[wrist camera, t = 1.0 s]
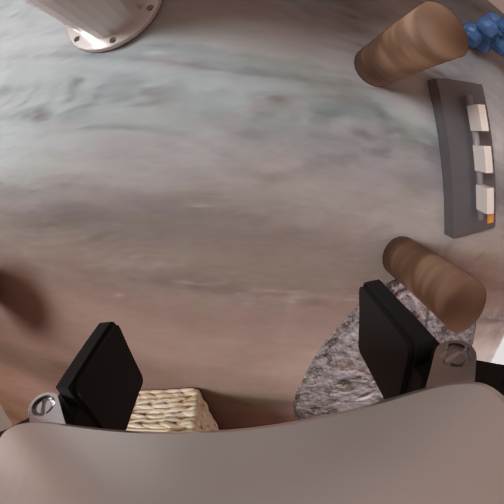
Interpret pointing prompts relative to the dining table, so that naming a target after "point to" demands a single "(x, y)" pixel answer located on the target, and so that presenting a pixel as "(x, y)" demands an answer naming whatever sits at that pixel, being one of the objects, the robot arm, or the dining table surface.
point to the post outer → (436, 283)
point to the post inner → (412, 45)
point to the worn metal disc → (357, 363)
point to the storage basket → (171, 411)
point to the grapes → (486, 33)
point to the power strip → (460, 155)
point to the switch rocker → (481, 158)
